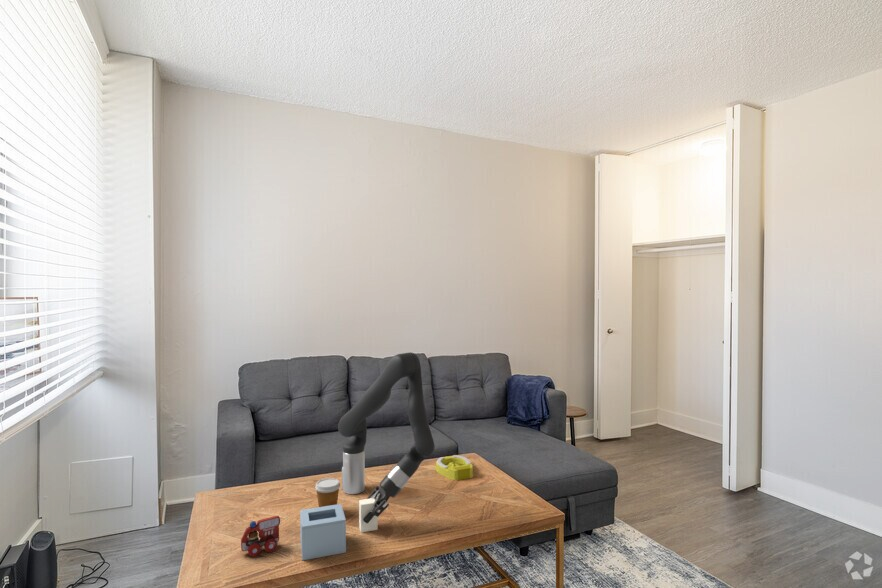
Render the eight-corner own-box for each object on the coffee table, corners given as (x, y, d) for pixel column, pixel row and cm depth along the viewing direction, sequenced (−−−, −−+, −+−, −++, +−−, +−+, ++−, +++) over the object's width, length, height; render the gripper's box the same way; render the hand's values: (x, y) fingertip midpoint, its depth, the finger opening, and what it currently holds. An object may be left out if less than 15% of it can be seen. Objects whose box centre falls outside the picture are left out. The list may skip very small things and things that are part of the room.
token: (375, 524, 176) (375, 497, 176) (377, 529, 172) (377, 502, 172) (359, 527, 174) (359, 500, 174) (361, 532, 170) (360, 504, 170)
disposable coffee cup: (327, 521, 178) (327, 489, 178) (310, 514, 183) (309, 484, 183) (345, 511, 186) (345, 480, 186) (328, 505, 191) (327, 475, 191)
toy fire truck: (240, 549, 160) (239, 519, 159) (278, 540, 166) (278, 510, 165) (242, 560, 154) (241, 528, 153) (281, 549, 159) (281, 519, 159)
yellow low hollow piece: (447, 482, 213) (447, 471, 213) (431, 466, 232) (431, 456, 232) (480, 477, 219) (480, 466, 219) (461, 461, 238) (461, 451, 238)
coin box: (302, 560, 153) (301, 526, 153) (300, 541, 164) (300, 510, 164) (345, 552, 158) (345, 519, 157) (341, 534, 169) (341, 503, 169)
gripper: (384, 467, 182) (353, 502, 178) (392, 482, 168) (359, 521, 165) (397, 479, 184) (367, 514, 180) (407, 494, 170) (374, 533, 166)
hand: (363, 517), depth 172 cm, fingers open, 5 cm apart
